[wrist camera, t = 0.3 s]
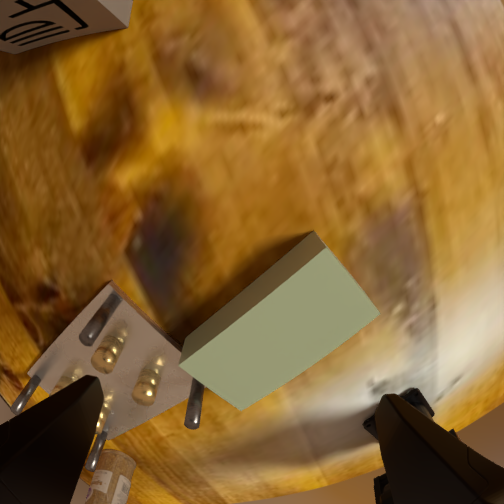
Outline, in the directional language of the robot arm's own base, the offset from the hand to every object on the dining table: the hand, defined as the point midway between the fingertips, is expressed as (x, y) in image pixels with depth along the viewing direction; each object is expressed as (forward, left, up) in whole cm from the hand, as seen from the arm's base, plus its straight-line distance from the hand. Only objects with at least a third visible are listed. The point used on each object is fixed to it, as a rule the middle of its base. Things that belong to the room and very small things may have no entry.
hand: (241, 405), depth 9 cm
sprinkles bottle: (-10, +28, -13) cm, 32 cm away
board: (-5, +1, -13) cm, 14 cm away
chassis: (-1, +16, -13) cm, 21 cm away
